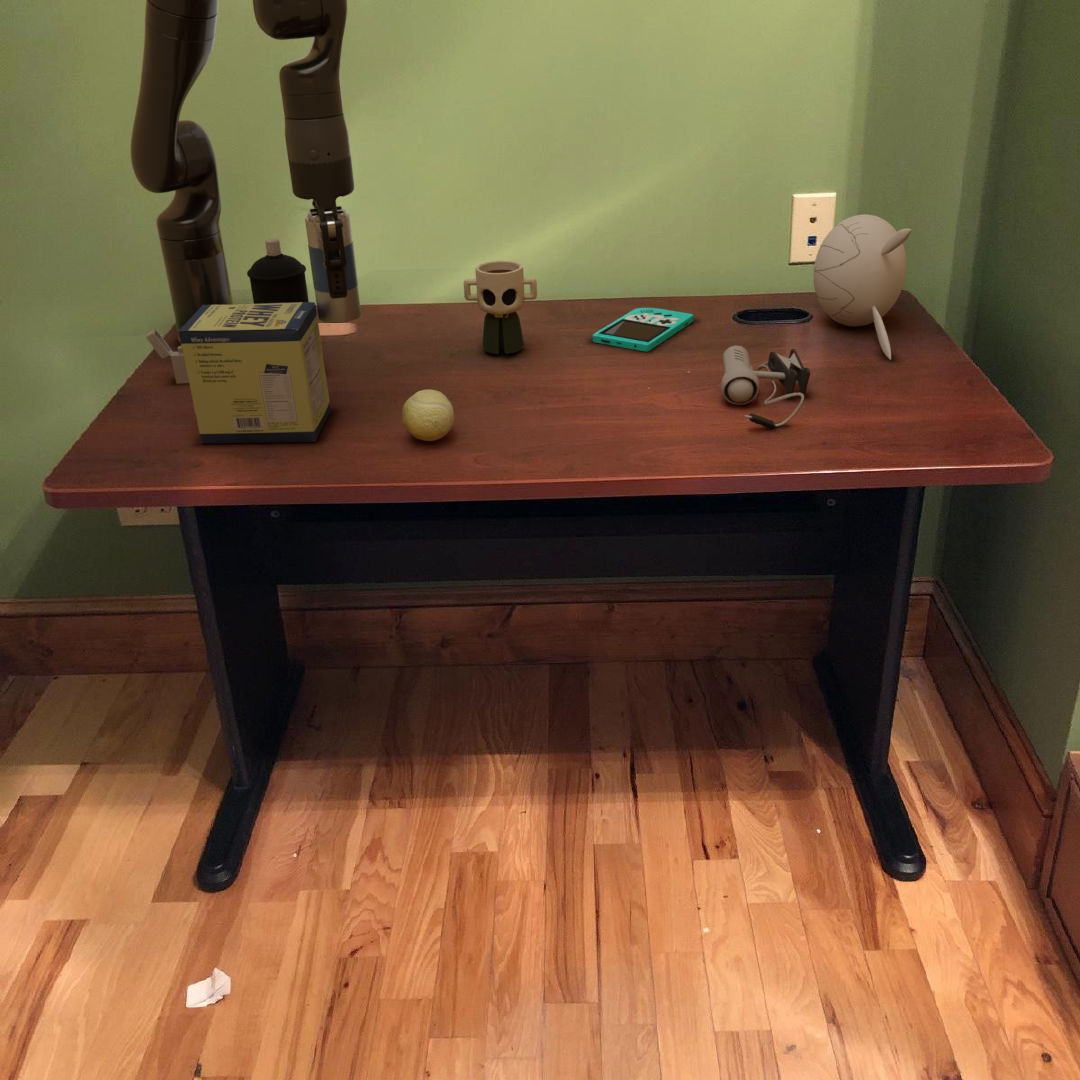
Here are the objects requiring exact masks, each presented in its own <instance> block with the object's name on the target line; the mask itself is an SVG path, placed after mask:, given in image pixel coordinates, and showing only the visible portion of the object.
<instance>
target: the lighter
mask: <svg viewBox="0 0 1080 1080" xmlns="http://www.w3.org/2000/svg"><path fill="white" fill-rule="evenodd" d="M145 338H146V340H147V341H148V343H150V345H151V346H152V348H153V349H154V350H155V352H156V353H157V354H158V356H159V357H160V358H161V360H165V359H168V358H169V357H170V360H171V364H172V369H173V375H174V379H175V383H176V384H178V385H179V384H189V380H188V375H187V370H186V365H185V360H184V355H183V350H182V346H181V345H179V346H177V351H173V349H171V347H170V346H169V344H168V343H167V341H166V340H165V339H164V337H163V336H162V335H161V334H160V332H159V331H158V329H157V328H153V329H152V330H150V331H149V332H147V333H146V335H145Z"/></svg>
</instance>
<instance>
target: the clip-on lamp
mask: <svg viewBox="0 0 1080 1080" xmlns="http://www.w3.org/2000/svg"><path fill="white" fill-rule="evenodd" d="M722 354H723V355H722V366H723V373H724V374H723V376H722V378H721V381H720V391H721V394H722V396H723V398H724V399H725V400H726V401H727V402H728V403H731V404H732V405H737V406H740V405H741V406H742V405H746V404H748V403H751V402H752V401H754V399H756V397H757V396H758V393H759V391H760V380H759V379H768V380H770V383H771V385H772V386H773V388H774V389H773V392H772V394H771V395H770V396H769V397H768V398H767V399H765V400H764V402H763V405H764V406H769V405H771V404H774V403H776V402H780V401H783V400H785V399H787V400H792V399H793V397H800V398H801V399H800V402H799V403H798V405H797V406H796V408H795V409H794V411H792V413H791V414H790V415H789V416H788V417H787V418H786V419H784V420H783V421H782V422H779V423H775V422H774V420H772V419H769V418H766V417H763V416H761V415H758V414H755V413H752V412H750V413H749V414H748V415H747V414H744V416H743V417H744V418H748V419H749V421H750V422H752V423H754V424H755V425H760V426H762V427H764V428H768V429H771V430H773V429H774V428H775V427H776V428H777V427H780V426H783V425H784V424H786V423H788V422H789V421H790V420H791V419H792V418H793V417H794V416H795V415H796V414H797V412H798V411H799V410H800V408H801V406H802V405H803V404H804V400H805V395H806V391H807V389H808V388H807V387H808V383H809V380H810V376H811V370H810V368H809V367H805V366H804V364H803V362H802V360H801V358H800V356H799V354H798V351H797V350H796V348H791V349H790V351H789V355H788V357H786V356H784V355H782V354H781V355H780V354H778V353H777V352H776V351H770V352H769V356H768V360H767V361H765V362H763V363H761V364H760V365H758V366H757V367H756V368H757V370H754V369H753V365H752V364H751V359H750V354H749V352H748V350H747V349H746V348H745V347H744V346H741V345H732V346H729V347H728V348H727V349H725V351H724V352H723V353H722ZM762 369H765V370H762ZM774 380H778V382H779V383H780V384H781V385H782V387H783V388H784V389H785V394H784V395H781V396H778V397H776V398H775V397H774V396H775V395H776V393H777V385H776V383H775V381H774ZM796 384H797V385H798V392H794V391H795V388H796Z"/></svg>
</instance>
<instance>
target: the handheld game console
mask: <svg viewBox="0 0 1080 1080" xmlns="http://www.w3.org/2000/svg"><path fill="white" fill-rule="evenodd" d="M693 322H694V314H693V313H688V312H682V311H676V310H669V309H664V308H657V307H656V308H655V307H637V308H634V309H632V310H631V311H629V312H628V313H626V314H624V315H623V316H621V317H620V318H617V319H616V320H614V321H613V322H611V323H609V324H608V325H606V326H604V327H603V328H601V329H599V330H598V331H596V332H595V333H593V334H592V342H593V343H597V344H601V345H607V346H611V347H618V348H625V349H629V350H634V351H639V352H645V353H647V352H650V351H652V350H654V348H656V347H657V346H659V345H661V344H662V343H663V342H665V341H666V340H669V338H671V337H672V336H674V335H675V334H677V333H678V332H680V331H681V330H683V329H684V328H686V327H688V326H689V325H690V324H692V323H693Z"/></svg>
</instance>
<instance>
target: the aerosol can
mask: <svg viewBox="0 0 1080 1080" xmlns="http://www.w3.org/2000/svg"><path fill="white" fill-rule="evenodd" d="M280 242H281V241H280V239H278V238H268V239H266V240H264V243H265V251H266V255H265V256H262V257H260V258H259V259H257V260H255V262H253V264H252V265H251V267H250V268H249V269H248V270H247V271H246V276H247V277H248V278H249V283H250V289H251V295H252V301H253V304H269V303H299V302H310V301H309V293H308V286H307V280H306V279H307V278H306V271H307V267H306V265H304V264H303V263H301V261H300V260H298V259H297V258H295V257H294V256H291V255H288V254H283V253H282V249H281V243H280Z"/></svg>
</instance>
